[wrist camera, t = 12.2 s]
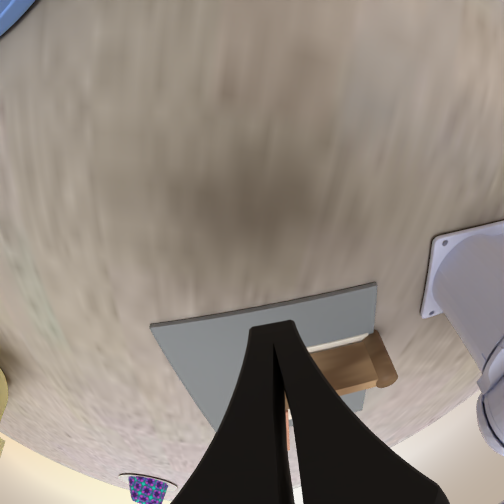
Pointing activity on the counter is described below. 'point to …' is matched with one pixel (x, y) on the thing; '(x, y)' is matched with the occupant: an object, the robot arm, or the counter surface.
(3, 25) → the water jug
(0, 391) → the slatted curved stool
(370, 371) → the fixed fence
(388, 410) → the counter surface
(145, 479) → the pudding
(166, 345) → the card
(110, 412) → the counter surface
